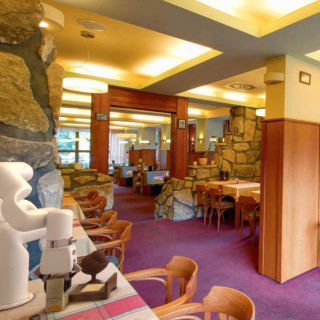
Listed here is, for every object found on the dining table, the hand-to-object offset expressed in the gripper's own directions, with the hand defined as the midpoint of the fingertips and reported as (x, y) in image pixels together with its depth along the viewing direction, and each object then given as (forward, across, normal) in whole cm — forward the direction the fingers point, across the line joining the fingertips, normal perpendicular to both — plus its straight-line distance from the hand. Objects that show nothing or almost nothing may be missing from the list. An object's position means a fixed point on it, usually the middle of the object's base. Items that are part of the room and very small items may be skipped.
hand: (57, 289), depth 107 cm
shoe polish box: (+7, 0, 0) cm, 7 cm away
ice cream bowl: (+7, -3, -21) cm, 23 cm away
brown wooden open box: (+7, -8, -9) cm, 14 cm away
